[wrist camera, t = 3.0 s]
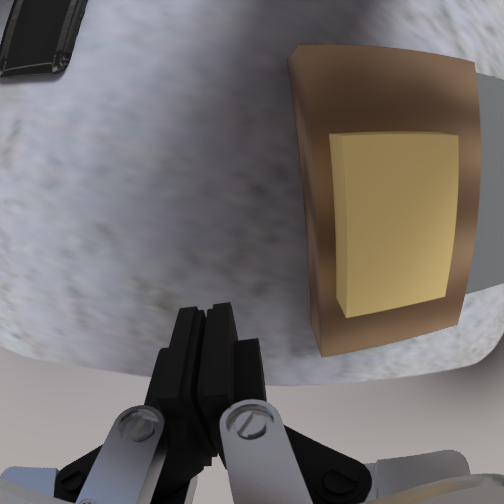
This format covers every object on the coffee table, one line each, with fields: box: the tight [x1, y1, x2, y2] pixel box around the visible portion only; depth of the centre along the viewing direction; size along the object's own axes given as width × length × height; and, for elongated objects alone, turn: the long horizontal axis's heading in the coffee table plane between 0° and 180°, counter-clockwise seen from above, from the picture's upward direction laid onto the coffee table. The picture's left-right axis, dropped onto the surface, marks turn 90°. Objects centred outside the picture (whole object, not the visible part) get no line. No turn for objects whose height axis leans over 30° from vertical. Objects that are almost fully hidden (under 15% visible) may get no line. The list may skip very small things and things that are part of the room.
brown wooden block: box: [287, 44, 481, 358], centre depth 19 cm, size 20×12×4 cm, turn 7°
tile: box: [329, 131, 459, 318], centre depth 16 cm, size 10×7×2 cm
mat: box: [465, 73, 504, 294], centre depth 20 cm, size 20×11×1 cm, turn 7°
